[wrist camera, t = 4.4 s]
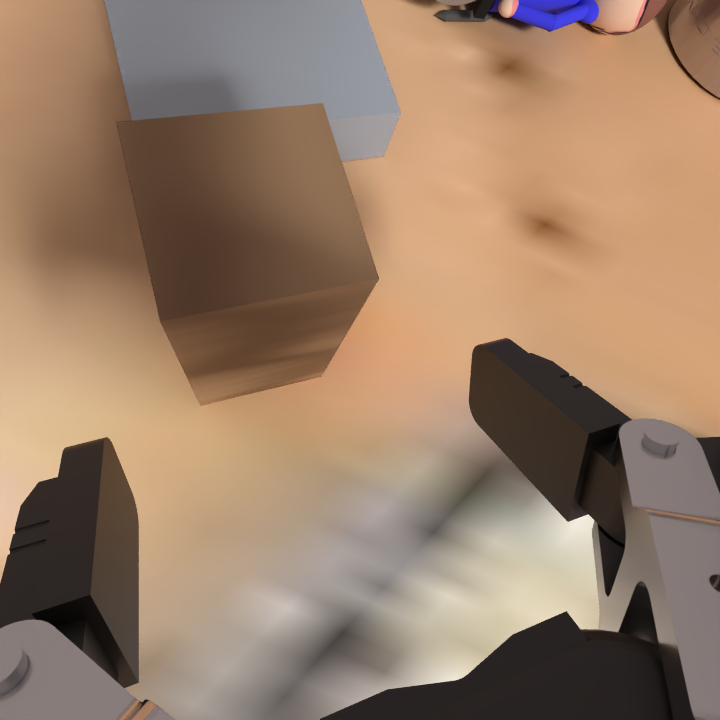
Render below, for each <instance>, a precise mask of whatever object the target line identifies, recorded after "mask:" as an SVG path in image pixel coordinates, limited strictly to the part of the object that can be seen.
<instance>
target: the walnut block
mask: <svg viewBox="0 0 720 720" xmlns="http://www.w3.org/2000/svg"><path fill="white" fill-rule="evenodd" d="M116 123H117V127H118V132H119V136H120V141H121V145H122V150H123V154H124V159H125V163H126V168H127V172H128V177H129V182H130V186H131V191H132V195H133V200H134V204H135V209H136V213H137V218H138V222H139V227H140V231H141V236H142V240H143V245H144V250H145V254H146V259H147V263H148V268H149V272H150V277H151V281H152V286H153V290H154V295H155V299H156V304H157V308H158V313H159V317H160V322H161V324H162V326H163V328H164V330H165V332H166V334H167V336H168V338H169V341H170V343H171V345H172V347H173V349H174V351H175V353H176V355H177V357H178V359H179V361H180V364H181V366H182V368H183V370H184V372H185V374H186V376H187V378H188V380H189V382H190V384H191V387H192V389H193V391H194V393H195V395H196V397H197V399H198V401H199V403H200V405H201V406H202V405H206V404H210V403H214V402H218V401H222V400H226V399H230V398H235V397H239V396H243V395H247V394H251V393H255V392H259V391H263V390H267V389H272V388H276V387H280V386H284V385H288V384H292V383H296V382H300V381H305V380H309V379H313V378H317V377H321V376H322V374H323V373H324V371H325V369H326V368H327V366H328V364H329V363H330V361H331V359H332V357H333V356H334V354H335V352H336V351H337V349H338V347H339V346H340V344H341V342H342V341H343V339H344V337H345V335H346V334H347V332H348V330H349V329H350V327H351V325H352V324H353V322H354V320H355V319H356V317H357V315H358V313H359V312H360V310H361V308H362V307H363V305H364V303H365V302H366V300H367V298H368V296H369V295H370V293H371V291H372V290H373V288H374V286H375V285H376V283H377V281H378V280H379V277H378V274H377V271H376V268H375V265H374V262H373V258H372V255H371V252H370V249H369V246H368V243H367V240H366V237H365V233H364V230H363V227H362V224H361V221H360V218H359V215H358V211H357V208H356V205H355V202H354V199H353V196H352V193H351V190H350V186H349V183H348V180H347V177H346V174H345V171H344V168H343V164H342V161H341V158H340V155H339V152H338V149H337V146H336V143H335V139H334V136H333V133H332V130H331V127H330V124H329V121H328V117H327V114H326V111H325V108H324V105H323V103H318V104H307V105H296V106H285V107H274V108H263V109H252V110H241V111H230V112H219V113H209V114H198V115H187V116H176V117H165V118H154V119H143V120H132V121H121V122H116Z"/></svg>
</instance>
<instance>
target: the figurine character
mask: <svg viewBox="0 0 720 720" xmlns="http://www.w3.org/2000/svg"><path fill="white" fill-rule="evenodd" d="M436 1H438V2H440V3H442V4H446V5H464V4H467V3H470V2H471V3H472V10H443V11H441V12H440V13H438V14H436V15H435V16H436V17H438V18H440V19H442V20H443V21H466V22H485V21H486V20H488V19H490V18H491V17H493V15H491V14H489V13H488V12H499V13H500V15H501V16H503V17H505V18H509V17H511V18H513V19H516V20H519V21H522V22H525V23H528V24H530V25H533V26H536V27H539V28H542V29H545V30H547V31H549V32H551V31H553V30H556V29H558V28H561V27H564V26H566V25H569V24H572V23H574V22H577V21H581V22H583V23H586V24H589V25H590V26H592V27H593V28H594V29H595V30H597V31H599V32H601V33H604V34H608V35H622V34H627V33H630V32H633V31H635V30H637V29H639V28H641V27H642V26H644V25H645V24H647V23H648V22H649V21H651V20H652V19H653V18H654V17H655V16H656V15H657V14H658V13H659V12H660V10H661V9H662V8H663V6H664V5H665V3H666V2H667V0H436ZM551 13H557V14H551Z"/></svg>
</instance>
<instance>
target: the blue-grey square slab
mask: <svg viewBox="0 0 720 720" xmlns="http://www.w3.org/2000/svg"><path fill="white" fill-rule="evenodd" d="M104 2H105V7H106V11H107V15H108V20H109V24H110V28H111V33H112V37H113V42H114V46H115V50H116V55H117V59H118V63H119V68H120V72H121V77H122V81H123V85H124V90H125V94H126V98H127V103H128V107H129V111H130V116H131V120H143V119H154V118H165V117H176V116H187V115H198V114H209V113H219V112H230V111H241V110H252V109H263V108H274V107H285V106H296V105H307V104H318V103H323V105H324V108H325V111H326V114H327V117H328V121H329V124H330V127H331V130H332V133H333V136H334V139H335V143H336V146H337V149H338V152H339V155H340V158H341V161H350V160H358V159H366V158H374V157H382V156H384V154H385V152H386V149H387V147H388V144H389V141H390V139H391V136H392V134H393V131H394V129H395V126H396V124H397V121H398V119H399V116H400V114H401V111H400V108H399V106H398V103H397V100H396V97H395V94H394V91H393V89H392V86H391V83H390V80H389V77H388V75H387V72H386V69H385V66H384V63H383V60H382V58H381V55H380V52H379V49H378V46H377V44H376V41H375V38H374V35H373V32H372V29H371V27H370V24H369V21H368V18H367V15H366V13H365V10H364V7H363V4H362V1H361V0H104Z"/></svg>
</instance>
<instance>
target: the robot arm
mask: <svg viewBox="0 0 720 720" xmlns="http://www.w3.org/2000/svg"><path fill="white" fill-rule="evenodd" d="M668 30H669V35H670V40H671V43H672V45H673V48H674V50H675V53H676V54H677V56H678V58H679V59H680V61H681V63H682V64H683V66H684V67H685V68H686V70H687V71H688V72H689V73H690V74H691V76H692V77H693V78H694V79H695V80H696V81H697V82H699V83H700V84H701V85H702V86H703V87H704V88H705V89H707V90H708V91H710V92H711V93H713V94H714V95H715V96H717V97H719V98H720V0H677V2H676V3H675V4H674V5H673V7H672V9H671V12H670V14H669V21H668ZM469 405H470V410H471V413H472V415H473V418H474V420H475V421H476V423H477V424H478V425H479V426H480V427H481V428H482V430H483V431H484V432H485V433H486V434H487V435H488V436H489V437H490V438H491V439H492V440H493V441H494V443H495V444H496V445H497V446H498V447H499V448H500V449H501V450H502V451H503V452H504V453H505V454H506V456H507V457H508V458H509V459H510V460H511V461H512V462H513V463H514V464H515V465H516V466H517V467H518V469H519V470H520V471H521V472H522V473H523V474H524V475H525V476H526V477H527V478H528V479H529V480H530V482H531V483H532V484H533V485H534V486H535V487H536V488H537V489H538V490H539V491H540V492H541V493H542V494H543V496H544V497H545V498H546V499H547V500H548V501H549V502H550V503H551V504H552V505H553V506H554V507H555V509H556V510H557V511H558V512H559V513H560V514H561V515H562V516H563V517H564V518H565V519H566V520H567V522H569V521H571V520H574V519H577V518H579V517H582V516H585V515H587V514H589V515H590V516H591V517H592V518H593V519H594V520H595V521H594V525H593V528H592V537H593V547H594V557H595V567H596V577H597V587H598V597H599V609H600V615H599V627H598V630H587V629H583V630H580V628H579V627H578V626H577V624H576V623H575V622H574V621H573V619H572V618H571V617H570V615H569V614H568V613H567V611H566V612H564V613H561V614H559V615H557V616H555V617H552V618H550V619H548V620H545V621H543V622H541V623H539V624H536V625H534V626H532V627H529V628H527V629H525V630H522V631H520V632H518V633H516V634H513V635H512V636H511V637H509V638H508V639H507V640H506V641H505V642H504V643H503V644H502V645H500V646H499V647H498V648H497V649H496V650H495V651H494V652H493V653H491V654H490V655H489V656H488V657H487V658H486V659H485V660H484V661H482V662H481V663H480V664H479V665H478V666H477V667H476V668H475V669H473V670H472V671H471V672H470V673H469V674H468V675H466V676H465V677H464V678H462V679H459V680H455V681H449V682H441V683H434V684H426V685H418V686H411V687H403V688H396V689H388V690H385V691H383V692H381V693H378V694H376V695H374V696H372V697H369V698H367V699H365V700H362V701H360V702H358V703H356V704H353V705H351V706H349V707H346V708H344V709H342V710H340V711H337V712H335V713H333V714H330V715H328V716H326V717H324V718H321V719H320V720H720V437H707V438H695V437H694V436H693V435H691V434H690V433H689V432H687V431H686V430H684V429H682V428H681V427H678V426H676V425H674V424H671V423H668V422H665V421H661V420H656V419H635V420H632V419H630V418H629V417H628V416H626V415H625V414H624V413H622V412H621V411H619V410H618V409H617V408H615V407H614V406H613V405H611V404H610V403H609V402H607V401H606V400H605V399H603V398H602V397H600V396H599V395H598V394H596V393H595V392H594V391H592V390H591V389H590V388H588V387H587V386H583V385H582V383H581V382H580V381H579V380H577V379H576V378H575V377H573V376H569V373H568V372H566V371H565V370H564V369H562V368H561V367H560V366H558V365H557V364H555V363H554V362H553V361H550V360H548V359H545V358H543V357H540V356H538V355H535V354H532V353H527V352H526V351H525V350H523V349H522V348H521V347H520V346H518V345H517V344H516V343H514V342H513V341H512V340H510V339H507V338H504V339H500V340H496V341H492V342H488V343H484V344H480V345H477V346H476V347H475V348H474V350H473V353H472V364H471V377H470V391H469ZM9 550H10V554H9V555H8V556H7V560H6V564H5V568H4V572H3V575H2V579H1V583H0V720H175V719H173V718H172V717H171V716H170V715H169V714H168V713H166V712H165V711H164V710H163V709H162V708H160V707H159V706H158V705H156V704H155V703H153V702H152V701H150V700H144V701H143V702H140V701H139V700H137V699H136V698H135V697H133V696H132V695H131V694H130V693H129V692H128V691H127V690H125V689H124V688H126V687H128V686H131V685H134V684H136V683H139V524H138V514H137V508H136V504H135V500H134V497H133V494H132V491H131V489H130V486H129V484H128V481H127V479H126V476H125V474H124V471H123V469H122V466H121V464H120V461H119V459H118V457H117V454H116V452H115V449H114V447H113V444H112V442H111V441H110V439H109V438H107V437H106V438H102V439H98V440H94V441H90V442H86V443H82V444H78V445H74V446H70V447H66V448H64V450H63V453H62V458H61V464H60V469H59V474H58V477H56V478H52V479H49V480H45V481H41V482H39V483H38V484H37V485H36V486H35V488H34V489H33V490H32V492H31V493H30V494H29V496H28V497H27V498H26V500H25V501H24V502H23V504H22V505H21V507H20V511H19V514H18V518H17V522H16V526H15V534H13V537H12V541H11V545H10V549H9Z"/></svg>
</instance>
